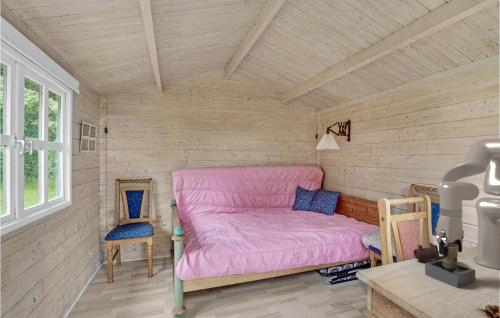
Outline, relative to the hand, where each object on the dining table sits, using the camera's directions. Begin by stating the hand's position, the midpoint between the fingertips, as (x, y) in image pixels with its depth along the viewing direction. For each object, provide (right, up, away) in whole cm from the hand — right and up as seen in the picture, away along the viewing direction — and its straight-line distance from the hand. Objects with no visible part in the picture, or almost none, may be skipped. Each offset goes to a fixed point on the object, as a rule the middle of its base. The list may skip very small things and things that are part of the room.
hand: (450, 253), depth 110 cm
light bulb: (0, -10, 0) cm, 10 cm away
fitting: (-1, -11, 0) cm, 11 cm away
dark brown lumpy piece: (+6, -11, +16) cm, 20 cm away
